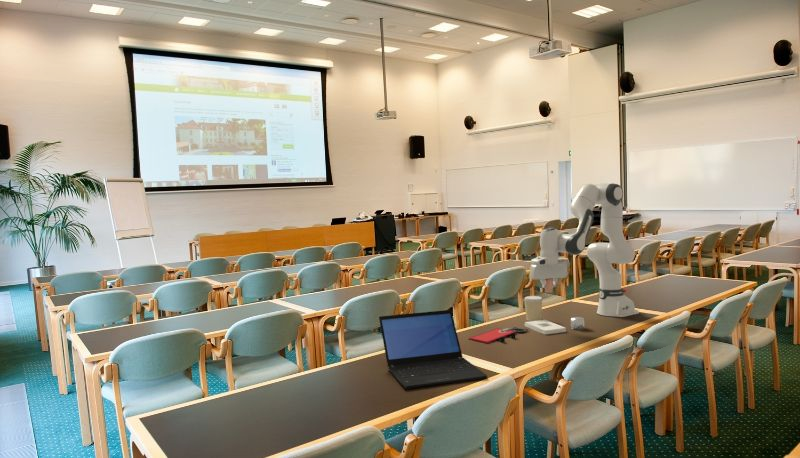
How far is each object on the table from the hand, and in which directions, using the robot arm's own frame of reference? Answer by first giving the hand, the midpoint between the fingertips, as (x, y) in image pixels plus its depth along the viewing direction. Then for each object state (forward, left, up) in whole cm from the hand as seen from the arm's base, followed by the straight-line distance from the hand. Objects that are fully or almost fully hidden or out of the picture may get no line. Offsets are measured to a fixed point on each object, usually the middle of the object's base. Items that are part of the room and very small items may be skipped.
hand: (548, 287), depth 275 cm
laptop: (+78, +33, -21) cm, 87 cm away
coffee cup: (-1, -16, -21) cm, 26 cm away
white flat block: (+4, +2, -20) cm, 21 cm away
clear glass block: (-11, +8, -21) cm, 25 cm away
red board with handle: (+29, +3, -21) cm, 36 cm away
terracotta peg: (0, 0, -3) cm, 3 cm away
